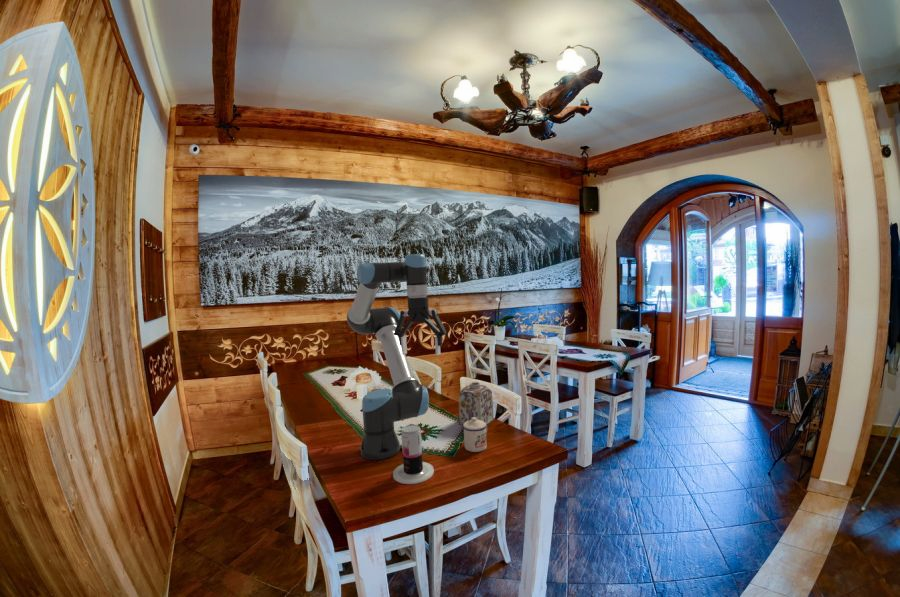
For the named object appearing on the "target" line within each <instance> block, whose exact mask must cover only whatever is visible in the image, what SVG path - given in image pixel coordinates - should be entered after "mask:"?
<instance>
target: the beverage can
mask: <svg viewBox="0 0 900 597" xmlns="http://www.w3.org/2000/svg"><path fill="white" fill-rule="evenodd" d="M421 432H422V430H421V427H420V426H419V425H418V424H408V425H407V424H406V425H405V426H402V428H401V432H400V433H401V446H402V447H401V448H402V461H403V463H402V464H403V465H404V472H405V473H406V474H407V475H417V474H419V473H420V472H421V471H422V470H423V462H424V461H423V451H422V450H423V448H422V447H423V446H422V433H421Z"/></svg>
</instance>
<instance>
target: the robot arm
mask: <svg viewBox="0 0 900 597" xmlns="http://www.w3.org/2000/svg"><path fill="white" fill-rule="evenodd" d="M404 257H405V258H404V261H393V262H366V263H365V262H364V263H360V264H358V266H357V268H356V270H357V271H356V276H357V278H356V279H357V280H358V283H359V285H358V288H357V292H356V294H355V297H354V300H353V303H352V306H351V307H350V308H349V309H348V311H347V314H346V321H347V324H348V326H349V327H350V329H351V330H353V331H354V332H355V333H358V334H361V335H366V336H367V335H373V334H374V335H375V338H376V340H378V341H380V344H381V347H382V350H383V353H384V357H385V360H386V363H387V366H388V367H387V368H388V369H389V370H388V371H389V373H390V377H391V380H392V383H393V387H392V388H391V389H390V388H378V389H374V390H372V391H369V392H368V393H366V394H365V395H364V396H363V398H362V400H361V401H362V402H361V410H362V422H363V437H362V440H361V445H360V455H361V457H362V458H363V459H366V460H370V461H372V460H373V461H378V460H379V461H380V460H385V459H388V458H391V457H392V458H393V457H394V456H396V455H397V454H398V453H399V452H400V450H401V445H400V440H399V438H398V435H397V433H396V430H395V422H400V421H404V420H408V419H412V418H418V417H420V416H423V415H425V414H426V413H427V412H428V410H429V405H430V398H429V397H430V396H429V391H428V388H427V387H426V385H423V384H422V385H421V384H420V382H419V380H418V379H417V378H414V376H413V373H412V369H411V367H410V364H409V361H408V358H407V354H408V348H407V336H405V335H406V333H407V332H408V330H409V329H410V327H411V326H412V324H413V323H416V324H417V323H424V324H425V325H427V327H429V329H430V331H431V332H433V333H434V334H433V335H435V337H434V346H435V347H434V348H435V356H439V355H441V354H442V353H441V346H442V345H443V336H445V335H447V333H448V332H447V330H446V329H445V326H444V325H443V323H442V321H441V319H440V316H439V314H438V310H437V309H436V308H435V309H432V310H430V309H429V298H428V295H429V293H428V292H429V290H428V283H427V282H428V277H427V261H426V256H425V255H424V254H421V253H420V254H419V253H418V254H415V253H414V254H406V255H405V256H404ZM397 282H398V283H401V282H402V283H403V282H406V295H407V297H408V298H407V307H408V308H407V309H408V310H406V309H404V310H401V311H399V309H397V308H396V307H392V306H385V307H379V308H377V307H376V308H372V307H373V304H374V302H375V299H376V297H377V294H378V291H379V289H380V287H381V284H382V283H397ZM407 316H408V317H409V318H408V320H407V322H406V323H405V320H406V317H407ZM429 316H431V317H432V319H431V318H430V317H429ZM432 320H433V321H434V323H433V321H432ZM404 323H405V324H404Z"/></svg>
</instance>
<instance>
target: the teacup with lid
mask: <svg viewBox="0 0 900 597" xmlns="http://www.w3.org/2000/svg"><path fill="white" fill-rule="evenodd" d="M462 428H463V440H464V441H463V442H464V449H465V450H466V451H469V452H473V453H479V452H482V451H485V450H486V449H487V433H488V424H487V425H486V424H485V422H483V421H481V420H477V418H476V417H473V418H472V420H470V421H467V422H465V423H464V424H462Z"/></svg>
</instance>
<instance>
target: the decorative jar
mask: <svg viewBox="0 0 900 597" xmlns="http://www.w3.org/2000/svg"><path fill="white" fill-rule="evenodd" d="M493 400H494V399H493V392H492V391H491V389H490V388H489V387H487V386H486V385H485V384H481V383H480V382H477V381H473V382H470V383H469V385H465V386H464V387H463V388H461V390H460V392H459V394H458V412H459V414H458V415H459V416H458V417H459V424H460V425H463V424H464V423H465V422H467V421H470V420H472V418H473V417H476V418H477V420H481V421H483V422H485V424H486V425H487V426H488V425H489V424H490V423H491V422H493V421H494V401H493Z"/></svg>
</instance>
